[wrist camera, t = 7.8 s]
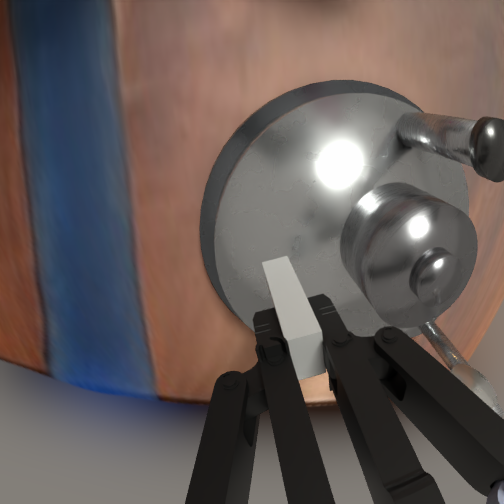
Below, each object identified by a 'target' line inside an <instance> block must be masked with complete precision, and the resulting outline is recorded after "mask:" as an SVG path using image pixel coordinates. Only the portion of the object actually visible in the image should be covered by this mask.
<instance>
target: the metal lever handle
mask: <svg viewBox="0 0 504 504" xmlns="http://www.w3.org/2000/svg"><path fill="white" fill-rule="evenodd" d="M435 320H436V318H435V319H433V320H431V321H430V322H428V323H425V324H423V325H420V326H417V327H412V328H404V329H402V331H403V332H404V333H405V334H407V335H408V336H409V337H415V336H418V335H420V334H422V333H423V335H424V336H425V337H426V338H427V340H428V341H429V342H430V344H431V345H432V346H433V348H434V349H435V350H436V352H437V353H438V354H439V356H440V357H441V358H442V360H443V361H444V362H445V364H446V365H447V366H448V368H449V369H450V370H451V371H450V372H451V373H452V374H453V375H454V376H456V377H457V378H458V379H459V380H460V381H461V382H462V383H464V384H465V385H466V386H467V387H468V388H469V389H470V390H471V391H473V392H474V393H475V394H476V395H477V396H478V397H479V398H480V399H482V400H483V401H484V402H485V403H486V404H487V405H488V406H489V407H490V408H492V409H493V410H494V411H495V412H496V413H497V414H498V415H499V416H500V417H501V418H502V416H503V415H504V412H503V410H502V409H501V407H500V406H499V404H498V403H497V395H496V392H495V390H494V388H493V386H492V385H491V383H490V382H489V381H488V380H487V379H486V378H485V377H484V376H483V375H482V374H481V373H480V372H478V371H477V370H476V369H474V368H472V367H471V366H470V365H469V364H468V363H467V361H466V360H465V359H464V358H463V356H462V355H461V354H460V352H459V351H458V350H457V349H456V348H455V346H454V345H453V344H452V343H451V341H450V340H449V339H448V338H447V337H446V335H445V334H444V333H443V332H442V331H441V329H440V328H439V327H438V326H437V325H436V323H435V322H434V321H435Z"/></svg>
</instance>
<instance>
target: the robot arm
mask: <svg viewBox="0 0 504 504" xmlns="http://www.w3.org/2000/svg"><path fill="white" fill-rule="evenodd" d="M262 265H263V269H264V274H265V278H266V282H267V286H268V290H269V294H270V298H271V302H272V306H273V308H270V309H266V310H262V311H258V312H255V314H254V317H253V325H254V330H255V336H256V341H257V345H256V353H257V357H258V362H257V364H256V365H255V366H254V367H253V368H252V369H250V370H248V371H247V372H245V373H243V374H242V373H240V372H237V371H230V372H226V373H224V374H222V375H221V376H220V377H219V378H218V379H217V380H216V382H215V386H214V390H213V393H212V397H211V401H210V405H209V409H208V413H207V418H206V421H205V425H204V430H203V433H202V437H201V442H200V445H199V450H198V454H197V457H196V461H195V465H194V469H193V473H192V477H191V481H190V485H189V489H188V493H187V497H186V501H185V504H248V499H249V491H250V484H251V478H252V471H253V463H254V456H255V449H256V441H257V434H258V426H259V418H260V414H261V413H263V412H264V411H266V410H268V409H269V413H270V418H271V423H272V428H273V433H274V438H275V443H276V448H277V452H278V457H279V462H280V467H281V472H282V477H283V482H284V486H285V491H286V496H287V500H288V504H335V501H334V498H333V495H332V492H331V488H330V484H329V481H328V478H327V474H326V471H325V467H324V464H323V461H322V458H321V454H320V451H319V447H318V444H317V441H316V438H315V434H314V431H313V428H312V424H311V421H310V417H309V414H308V411H307V407H306V404H305V401H304V397H303V394H302V391H301V388H300V384H299V381H298V380H302V379H306V378H309V377H313V376H316V375H319V374H323V373H326V369H327V372H328V374H329V387H330V391H332V390H333V393H334V395H335V398H336V401H337V403H338V406H339V409H340V411H341V414H342V416H343V419H344V422H345V424H346V427H347V430H348V432H349V435H350V438H351V441H352V443H353V446H354V449H355V452H356V454H357V457H358V459H359V462H360V465H361V468H362V471H363V474H364V476H365V479H366V482H367V485H368V488H369V491H370V493H371V496H372V499H373V502H374V504H445V502H444V499H443V497H442V495H441V493H440V490H439V488H438V486H437V484H436V482H435V480H434V478H433V477H432V476H431V475H430V474H428V473H426V472H425V471H424V470H423V468H422V466H421V464H420V462H419V460H418V458H417V456H416V453H415V451H414V449H413V447H412V445H411V443H410V441H409V439H408V437H407V435H406V433H405V431H404V429H403V426H402V425H401V422H400V421H399V418H398V417H397V415H396V412H395V411H394V408H393V407H392V405H391V403H390V401H389V399H388V397H389V398H390V399H391V400H392V401H393V402H394V403H395V404H396V406H397V407H398V408H399V409H400V410H401V411H402V412H403V413H404V414H405V415H406V416H407V418H408V419H409V420H410V421H411V422H412V423H413V424H414V425H415V426H416V427H417V428H418V429H419V430H420V432H422V434H423V435H424V436H425V437H426V438H427V439H428V440H429V441H430V442H431V443H432V445H433V446H434V447H435V448H436V449H437V450H438V451H439V452H440V453H441V454H442V455H443V456H444V458H445V459H446V460H447V461H448V462H449V463H450V464H451V465H452V466H453V467H454V468H455V469H456V471H457V472H458V473H459V474H460V475H461V476H462V477H463V478H464V479H465V480H466V481H467V482H468V483H469V484H470V485H471V486H472V487H473V488H474V489H475V490H477V491H478V492H480V493H481V494H483V495H484V496H487V497H488V498H487V502H486V504H504V419H502V418H501V417H500V416H499V415H498V414H497V413H496V412H495V411H494V410H493V409H492V408H490V407H489V406H488V405H487V404H486V403H485V402H484V401H483V400H482V399H480V398H479V397H478V396H477V395H476V394H475V393H474V392H473V391H471V390H470V389H469V388H468V387H467V386H466V385H465V384H464V383H462V382H461V381H460V380H459V379H458V378H457V377H456V376H454V375H453V374H452V373H451V372H450V371H449V370H448V369H446V368H445V367H444V366H443V365H442V364H441V363H439V362H438V361H437V360H436V359H435V358H434V357H432V356H431V355H430V354H429V353H428V352H427V351H425V350H424V349H423V348H422V347H421V346H420V345H418V344H417V343H416V342H415V341H414V340H412V339H411V338H410V337H409V336H408V335H407V334H405V333H404V332H403V331H402V330H400V329H399V328H397V327H393V326H386V327H383V328H380V329H379V330H378V331H377V332H376V333H375V336H368V337H360V336H356V335H354V334H353V333H352V332H350V331H348V330H347V328H346V326H345V324H344V323H343V321H342V319H341V317H340V315H339V314H338V312H337V310H336V308H335V306H334V305H333V303H332V301H331V299H330V298H329V297H327V296H326V295H324V294H319V295H316V296H312V297H308V298H307V297H306V295H305V293H304V291H303V288H302V286H301V284H300V282H299V280H298V278H297V275H296V273H295V271H294V269H293V267H292V265H291V263H290V261H289V258H288V256H285V257H281V258H277V259H273V260H269V261H266V262H262ZM387 396H388V397H387Z"/></svg>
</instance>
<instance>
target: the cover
mask: <svg viewBox="0 0 504 504" xmlns="http://www.w3.org/2000/svg"><path fill="white" fill-rule="evenodd" d="M340 254H341V259H342V262H343V265H344V267H345V269H346V271H347V272H348V274H349V275H350V277H351V278H352V279H353V281H354V282H355V283H356V285H357V286H358V288H359V289H360V290H361V292H362V293H363V294H364V296H365V297H366V299H367V300H368V301H369V303H370V304H371V306H372V307H373V308H374V310H375V311H376V313H377V314H378V315H379V317H380V318H381V319H382V320H383V321H384V322H386V323H387V324H389V325H391V326H393V327H398V328H412V327H417V326H420V325H423V324H425V323H428V322H430V321H431V320H433V319H435V318H437V317H438V316H439V315H441V314H442V313H443V312H445V311H446V310H447V309H448V308H449V307H450V306H451V305H452V304H453V303H454V302H455V301H456V299H457V298H458V297H459V296H460V294H461V293H462V291H463V290H464V288H465V287H466V285H467V283H468V281H469V279H470V277H471V274H472V272H473V269H474V266H475V262H476V257H477V234H476V231H475V227H474V225H473V223H472V221H471V220H470V218H469V217H468V216H467V215H466V214H465V213H464V212H463V211H461V210H460V209H458V208H456V207H454V206H452V205H451V204H449V203H447V202H445V201H443V200H441V199H439V198H437V197H435V196H433V195H431V194H429V193H427V192H425V191H423V190H421V189H419V188H417V187H415V186H413V185H410V184H407V183H402V182H394V183H388V184H384V185H381V186H379V187H377V188H375V189H373V190H371V191H370V192H369V193H367V194H366V195H365V196H363V197H362V198H361V199H360V200H359V201H358V203H357V204H356V205H355V206H354V208H353V209H352V211H351V212H350V214H349V215H348V218H347V220H346V222H345V224H344V227H343V230H342V234H341V240H340Z"/></svg>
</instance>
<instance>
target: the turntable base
mask: <svg viewBox="0 0 504 504" xmlns="http://www.w3.org/2000/svg"><path fill="white" fill-rule="evenodd" d="M346 93H370V94H377V95H383V96H387V97H391V98H394V99H397V100H400V101H402V102H405V103H406V104H408V105H410V106H412V107H414V108H416V109H418V110H419V111H421V112H422V113H424V112H423V111H422V110H421V109H420V108H419V107H418V106H416V105H415V104H414V103H412V102H411V101H409V100H408V99H407V98H405V97H404V96H402V95H400V94H398V93H396V92H394V91H392V90H390V89H388V88H385V87H382V86H379V85H375V84H372V83H368V82H361V81H354V80H331V81H325V82H319V83H313V84H309V85H306V86H303V87H300V88H297V89H294V90H291V91H288V92H286V93H284V94H282V95H280V96H278V97H277V98H275V99H273V100H271V101H269V102H268V103H266V104H265V105H264V106H262V107H261V108H259V109H258V110H257V111H255V112H254V113H253V114H252V115H250V116H249V117H248V118H247V119H246V120H245V121H244V122H243V123H242V124H241V125H240V126H239V127H238V128H237V129H236V131H235V132H234V133H233V135H232V136H231V137H230V139H229V140H228V141H227V143H226V144H225V145H224V147H223V148H222V150H221V152H220V154H219V156H218V158H217V159H216V161H215V163H214V165H213V167H212V170H211V173H210V175H209V178H208V181H207V183H206V187H205V191H204V196H203V201H202V206H201V216H200V241H201V250H202V255H203V259H204V263H205V267H206V270H207V272H208V275H209V277H210V280H211V282H212V284H213V286H214V288H215V289H216V291H217V293H218V295H219V296H220V298H221V299H222V300H223V302H224V303H225V304H226V305H227V307H228V308H229V309H230V310H231V311H232V312H233V313H234V314H235V315H236V316H237V317H238V318H239V319H240V320H241V318H240V317H239V316H238V315H237V314H236V312H235V311H234V310H233V308H232V306H231V304H230V303H229V301H228V299H227V298H226V296H225V293H224V291H223V288H222V286H221V283H220V280H219V276H218V271H217V267H216V261H215V247H214V230H215V218H216V210H217V206H218V202H219V197H220V193H221V191H222V188H223V185H224V183H225V180H226V178H227V175H228V173H229V172H230V170H231V168H232V166H233V164H234V163H235V161H236V159H237V157H238V156H239V155H240V153H241V152H242V151H243V149H244V148H245V147H246V145H247V144H248V143H249V141H250V140H251V139H252V138H253V137H254V136H255V135H256V134H257V133H258V132H259V131H260V130H261V129H262V128H263V127H264V126H266V125H267V124H268V123H270V122H271V121H272V120H274V119H275V118H276V117H278V116H279V115H280V114H282V113H284V112H286V111H287V110H289V109H291V108H293V107H295V106H297V105H299V104H302V103H304V102H307V101H310V100H313V99H316V98H320V97H325V96H330V95H336V94H346Z"/></svg>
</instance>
